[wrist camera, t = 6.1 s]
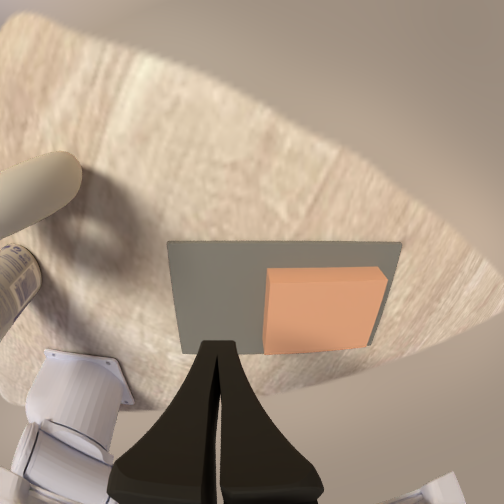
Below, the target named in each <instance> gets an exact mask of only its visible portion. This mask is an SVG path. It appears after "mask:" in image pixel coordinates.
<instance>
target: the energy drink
mask: <svg viewBox="0 0 504 504" xmlns="http://www.w3.org/2000/svg"><path fill="white" fill-rule="evenodd" d="M41 280H42V279H41V272H40V268H39V266H38V263H37V261H36V260H35V258H34V257H33V255H32V254H31V253H30V252H29V251H28V250H27V249H26V248H24V247H22V246H20V245H18V244H7V245H6V246H4V247H3V248H2V249H1V250H0V342H1V340H2V339H3V337H4V336H5V335H6V333H7V332H8V330H9V329H10V328H11V326H12V325H13V323H14V322H15V321H16V319H17V318H18V317H19V315H20V314H21V313H22V311H23V310H24V309H25V307H26V306H27V305H28V303H29V302H30V301H31V300H32V298H33V297H34V296H35V295H36V293H37V292H38V291H39V289H40V287H41Z"/></svg>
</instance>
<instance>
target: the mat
mask: <svg viewBox="0 0 504 504" xmlns="http://www.w3.org/2000/svg"><path fill="white" fill-rule="evenodd" d="M401 248H402V243H401V242H356V241H168V242H167V249H168V258H169V267H170V275H171V283H172V290H173V298H174V305H175V311H176V318H177V324H178V330H179V336H180V342H181V348H182V354H197V353H198V350H199V347H200V344H201V342H202V341H203V340H233V341H235V342H236V348H237V352H238V354H264V347H263V340H262V336H263V322H264V307H265V292H266V276H267V268H328V267H379V269H380V270H381V271H382V273H383V274H384V275H385V276H386V278H387V279H388V282H387V285H386V289H385V292H384V295H383V299H382V302H381V305H380V308H379V311H378V314H377V317H376V320H375V323H374V326H373V329H372V332H371V335H370V337H369V340H368V343H367V346H369V345H371V343H372V341H373V338H374V335H375V332H376V330H377V327H378V324H379V321H380V318H381V315H382V312H383V309H384V306H385V303H386V300H387V297H388V294H389V291H390V287H391V284H392V281H393V277H394V274H395V270H396V267H397V263H398V259H399V255H400V252H401Z"/></svg>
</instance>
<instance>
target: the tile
mask: <svg viewBox="0 0 504 504" xmlns="http://www.w3.org/2000/svg"><path fill="white" fill-rule="evenodd" d="M387 282H388V279H387V278H386V276H385V275H384V274H383V273H382V271H381V270H380V269H379V267H328V268H267V276H266V292H265V307H264V322H263V336H262V340H263V347H264V355H273V354H293V353H308V352H321V351H333V350H343V349H352V348H361V347H366V346H367V343H368V340H369V337H370V335H371V332H372V329H373V326H374V323H375V320H376V317H377V314H378V311H379V308H380V305H381V302H382V299H383V295H384V292H385V289H386V285H387Z"/></svg>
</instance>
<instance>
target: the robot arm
mask: <svg viewBox="0 0 504 504" xmlns="http://www.w3.org/2000/svg"><path fill="white" fill-rule="evenodd" d="M44 354H45V355H46V358H45V360H44V362H43V364H42V366H41V368H40V370H39V372H38V374H37V376H36V378H35V380H34V382H33V384H32V386H31V388H30V390H29V392H28V394H27V398H26V415H27V419H28V421H29V423H28V424H27V425H26V427H25V429H24V431H23V434H22V436H21V438H20V441H19V443H18V446H17V449H16V452H15V455H14V458H13V461H12V465H11V471H9V470H8V469H6V468H4V467H2V466H0V504H118V503H119V504H217V492H216V460H215V459H216V454H215V453H216V452H215V451H216V450H215V443H216V429H217V420H218V410H219V401H220V395H221V404H222V410H221V457H220V458H221V459H220V460H221V461H220V487H221V492H222V496H223V500H224V504H318V502H317V499H318V498H319V497H320V496H321V494H322V493H323V492H324V487H323V484H322V481H321V479H320V477H319V475H318V473H317V471H316V469H315V468H314V466H313V465H312V464H311V463H310V462H309V461H308V460H307V459H306V458H305V457H303V456H302V455H301V454H300V453H299V452H298V451H297V450H296V449H295V448H294V447H293V446H292V445H291V444H290V442H289V441H288V440H287V439H286V438H285V437H284V435H283V434H282V433H281V432H280V431H279V429H278V428H277V427H276V426H275V425H274V423H273V422H272V420H271V419H270V418H269V416H268V415H267V414H266V412H265V410H264V409H263V407H262V406H261V404H260V402H259V401H258V399H257V397H256V395H255V393H254V392H253V390H252V388H251V386H250V384H249V382H248V379H247V377H246V375H245V373H244V370H243V368H242V365H241V362H240V359H239V356H238V352H237V348H236V342H235V341H233V340H203V341H202V342H201V344H200V347H199V350H198V353H197V356H196V358H195V360H194V363H193V365H192V367H191V369H190V371H189V373H188V375H187V377H186V379H185V381H184V382H183V384H182V386H181V387H180V389H179V391H178V392H177V394H176V396H175V397H174V399H173V400H172V402H171V403H170V405H169V406H168V407H167V409H166V410H165V412H164V413H163V414H162V415H161V417H160V418H159V419H158V420H157V422H156V423H155V424H154V425H153V426H152V427H151V429H150V430H149V431H148V432H147V433H146V434H145V435H144V436H143V437H142V438H141V439H140V440H139V441H138V442H137V443H136V444H135V445H134V446H133V447H132V448H130V449H129V450H128V451H127V452H126V453H124V454H123V455H122V456H121V457H119V458H118V459H117V460H116V461H115V463H114V464H113V463H112V462H113V458H114V456H113V455H112V454H110V453H109V448H110V444H111V440H112V436H113V431H114V427H115V423H116V419H117V415H118V412H119V408H120V404H128V405H133V404H134V402H135V401H134V399H133V396H132V394H131V392H130V390H129V387H128V385H127V383H126V380H125V378H124V376H123V373H122V371H121V368H120V366H119V363H118V361H117V360H116V359H114V358H107V357H99V356H91V355H84V354H77V353H70V352H64V351H58V350H52V349H45V350H44ZM30 483H31V484H30ZM378 504H466V502H465V499H464V496H463V493H462V491H461V488H460V486H459V483H458V481H457V478H456V476H455V473H454V471H450V472H448V473H447V474H444V475H442V476H440V477H438V478H435V479H433V480H431V481H429V482H428V483H426V484H425V485H423V486H422V487H421V488H419V489H417V490H414V491H412V492H409V493H407V494H404V495H401V496H399V497H396V498H393V499H390V500H387V501H384V502H381V503H378Z"/></svg>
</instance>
